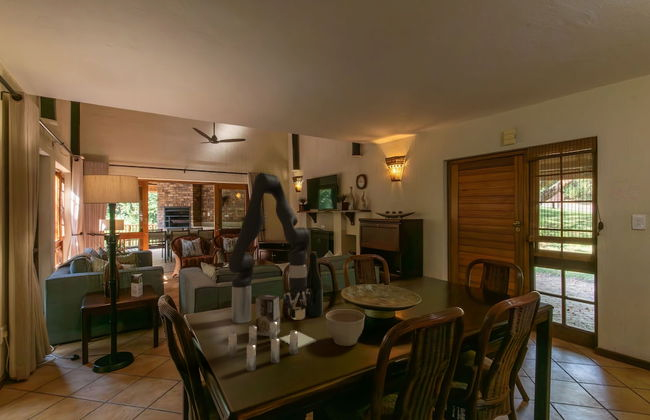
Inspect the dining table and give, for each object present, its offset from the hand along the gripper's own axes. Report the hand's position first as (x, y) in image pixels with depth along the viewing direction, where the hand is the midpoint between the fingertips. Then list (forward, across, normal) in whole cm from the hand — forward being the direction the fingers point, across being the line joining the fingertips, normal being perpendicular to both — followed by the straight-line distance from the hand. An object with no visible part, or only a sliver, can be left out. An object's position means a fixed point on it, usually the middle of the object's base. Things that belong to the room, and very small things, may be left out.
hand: (298, 315), depth 128 cm
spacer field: (+10, +17, +1) cm, 20 cm away
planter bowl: (+11, -14, +14) cm, 22 cm away
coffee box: (+10, +5, -15) cm, 19 cm away
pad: (+10, 0, 0) cm, 10 cm away
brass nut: (+1, 0, 0) cm, 1 cm away
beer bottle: (+10, -26, -21) cm, 35 cm away
